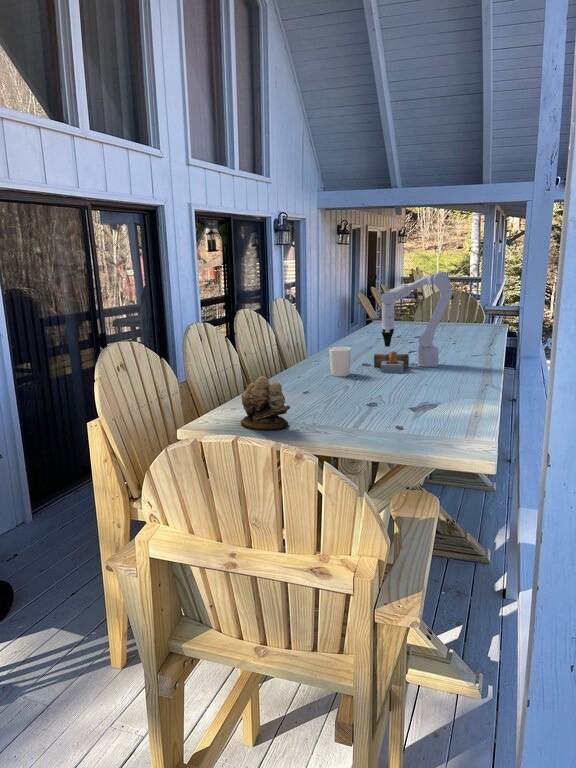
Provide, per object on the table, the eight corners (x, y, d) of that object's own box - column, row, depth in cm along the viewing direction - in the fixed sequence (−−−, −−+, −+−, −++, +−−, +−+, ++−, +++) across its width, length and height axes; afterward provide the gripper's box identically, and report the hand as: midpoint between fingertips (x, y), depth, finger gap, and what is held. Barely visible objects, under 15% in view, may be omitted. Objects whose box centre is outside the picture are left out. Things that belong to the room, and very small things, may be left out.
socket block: (403, 368, 257) (403, 360, 256) (403, 373, 247) (403, 365, 246) (381, 368, 259) (381, 360, 258) (380, 373, 250) (380, 365, 249)
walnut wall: (408, 366, 259) (408, 354, 258) (408, 368, 256) (408, 355, 255) (374, 366, 263) (374, 354, 261) (373, 367, 260) (373, 355, 258)
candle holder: (343, 378, 242) (343, 351, 239) (325, 375, 248) (324, 349, 245) (355, 373, 249) (354, 347, 246) (336, 371, 255) (336, 346, 252)
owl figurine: (297, 422, 184) (295, 373, 179) (282, 434, 173) (280, 382, 169) (250, 417, 191) (247, 369, 187) (233, 427, 181) (230, 377, 177)
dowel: (396, 368, 254) (396, 351, 252) (396, 370, 251) (396, 352, 249) (389, 368, 255) (389, 351, 253) (389, 369, 252) (389, 352, 250)
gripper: (380, 315, 268) (380, 342, 272) (378, 319, 255) (378, 347, 258) (395, 315, 267) (394, 342, 270) (394, 318, 253) (393, 347, 256)
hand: (387, 345), depth 264 cm, fingers open, 7 cm apart
